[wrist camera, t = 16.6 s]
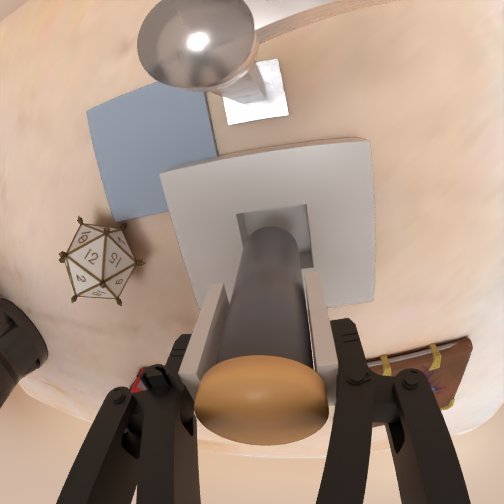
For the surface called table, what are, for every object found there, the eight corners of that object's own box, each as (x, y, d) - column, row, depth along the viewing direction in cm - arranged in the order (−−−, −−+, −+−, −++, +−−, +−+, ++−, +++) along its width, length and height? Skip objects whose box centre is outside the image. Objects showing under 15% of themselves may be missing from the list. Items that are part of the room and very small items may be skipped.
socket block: (211, 295, 31) (203, 319, 27) (176, 165, 25) (159, 173, 21) (363, 278, 28) (373, 301, 24) (356, 137, 22) (369, 140, 19)
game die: (131, 246, 33) (87, 315, 29) (85, 198, 28) (31, 270, 23) (175, 251, 28) (122, 339, 23) (119, 189, 22) (48, 285, 18)
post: (229, 124, 23) (151, 136, 9) (218, 71, 21) (129, 13, 7) (288, 115, 22) (302, 105, 8) (277, 60, 20) (271, -26, 6)
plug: (243, 283, 22) (213, 444, 10) (232, 225, 20) (175, 378, 8) (306, 277, 22) (326, 441, 10) (300, 217, 20) (331, 372, 8)
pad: (117, 220, 28) (114, 222, 27) (89, 111, 23) (86, 111, 22) (227, 198, 26) (226, 200, 25) (200, 70, 21) (198, 69, 20)
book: (300, 360, 36) (300, 389, 31) (466, 327, 31) (481, 348, 27) (308, 425, 41) (308, 449, 37) (442, 397, 37) (451, 417, 33)
